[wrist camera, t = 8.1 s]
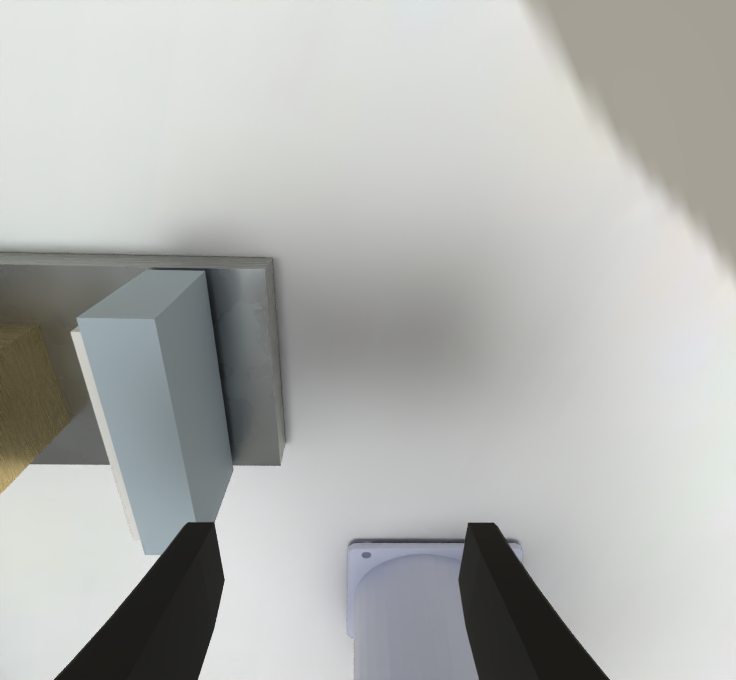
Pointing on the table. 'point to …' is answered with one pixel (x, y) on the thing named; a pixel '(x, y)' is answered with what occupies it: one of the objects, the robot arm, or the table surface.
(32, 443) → the brass block
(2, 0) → the table surface
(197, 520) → the sliding jaw
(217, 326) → the vise
